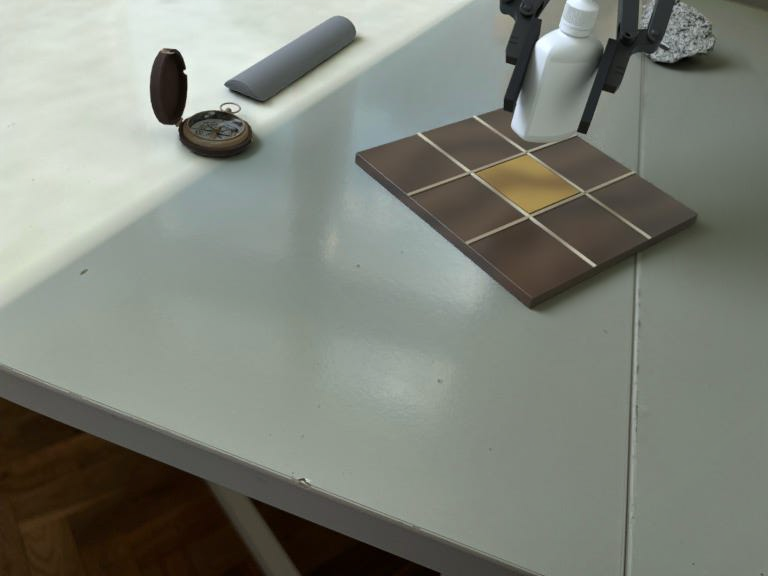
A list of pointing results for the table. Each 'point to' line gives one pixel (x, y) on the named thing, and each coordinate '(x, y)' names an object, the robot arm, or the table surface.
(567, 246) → the grid board
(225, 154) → the compass
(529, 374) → the table surface
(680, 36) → the rock sample
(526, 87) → the eye dropper bottle
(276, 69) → the gray half cylinder
